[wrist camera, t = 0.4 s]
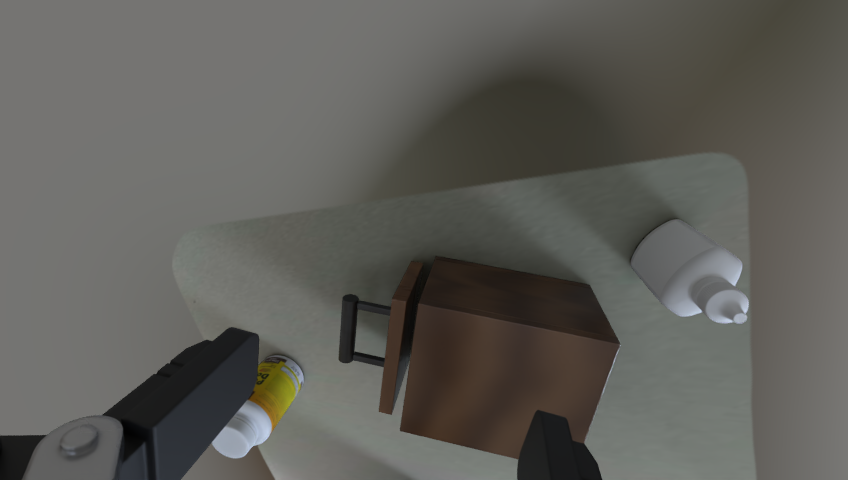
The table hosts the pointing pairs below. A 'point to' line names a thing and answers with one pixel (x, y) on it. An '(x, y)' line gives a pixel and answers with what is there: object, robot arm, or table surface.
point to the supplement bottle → (261, 407)
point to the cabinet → (504, 356)
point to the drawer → (397, 337)
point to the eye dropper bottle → (691, 273)
